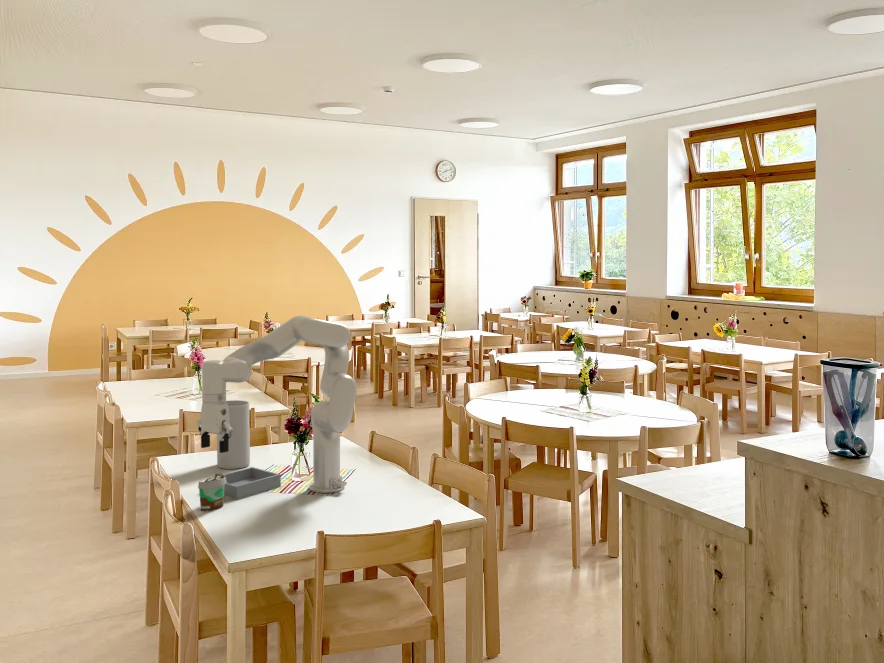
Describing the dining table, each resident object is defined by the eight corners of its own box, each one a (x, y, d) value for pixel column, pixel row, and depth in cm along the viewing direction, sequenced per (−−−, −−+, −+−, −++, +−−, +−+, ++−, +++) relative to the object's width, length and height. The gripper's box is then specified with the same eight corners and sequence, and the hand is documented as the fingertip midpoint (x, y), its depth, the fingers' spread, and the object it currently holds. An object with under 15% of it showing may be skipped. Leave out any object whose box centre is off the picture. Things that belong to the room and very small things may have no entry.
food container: (216, 513, 255) (215, 483, 254) (198, 512, 256) (197, 482, 255) (233, 502, 267) (233, 473, 266) (216, 500, 268) (216, 472, 267)
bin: (280, 486, 285) (280, 474, 285) (236, 499, 269) (236, 486, 269) (252, 478, 294) (252, 466, 294) (208, 490, 279) (208, 478, 278)
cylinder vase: (256, 464, 314) (255, 402, 312) (232, 471, 304) (231, 407, 301) (235, 459, 321) (234, 399, 318) (210, 466, 311) (209, 403, 308)
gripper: (240, 400, 256) (240, 451, 257) (207, 393, 266) (208, 443, 268) (221, 403, 250) (221, 456, 251) (188, 396, 260) (189, 447, 262)
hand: (214, 449), depth 259 cm, fingers open, 9 cm apart
